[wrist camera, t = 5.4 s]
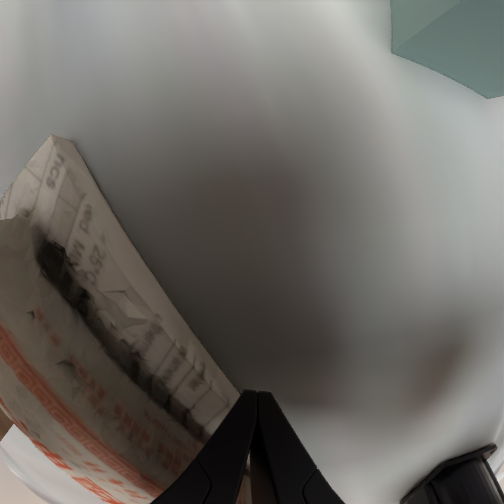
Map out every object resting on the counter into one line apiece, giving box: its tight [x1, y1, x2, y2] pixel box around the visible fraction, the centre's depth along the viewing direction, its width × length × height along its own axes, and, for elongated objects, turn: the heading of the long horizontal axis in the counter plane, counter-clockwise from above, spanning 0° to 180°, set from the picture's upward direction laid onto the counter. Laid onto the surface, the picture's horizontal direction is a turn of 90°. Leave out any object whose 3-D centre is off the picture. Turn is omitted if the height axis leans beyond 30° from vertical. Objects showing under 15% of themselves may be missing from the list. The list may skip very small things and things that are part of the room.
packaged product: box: [0, 134, 252, 504], centre depth 8 cm, size 18×5×10 cm
